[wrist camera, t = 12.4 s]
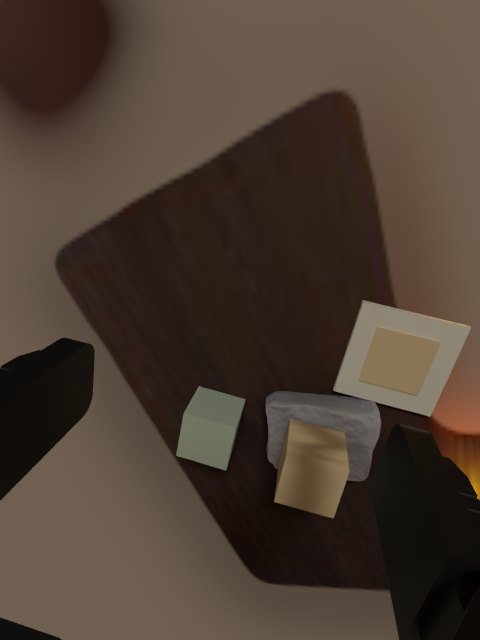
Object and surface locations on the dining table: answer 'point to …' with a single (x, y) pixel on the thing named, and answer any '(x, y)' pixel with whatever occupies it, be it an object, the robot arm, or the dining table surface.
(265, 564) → the dining table surface
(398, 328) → the card
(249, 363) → the dining table surface
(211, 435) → the sage green cube
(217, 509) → the dining table surface
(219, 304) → the dining table surface
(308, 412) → the stone block
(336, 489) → the maple cube
